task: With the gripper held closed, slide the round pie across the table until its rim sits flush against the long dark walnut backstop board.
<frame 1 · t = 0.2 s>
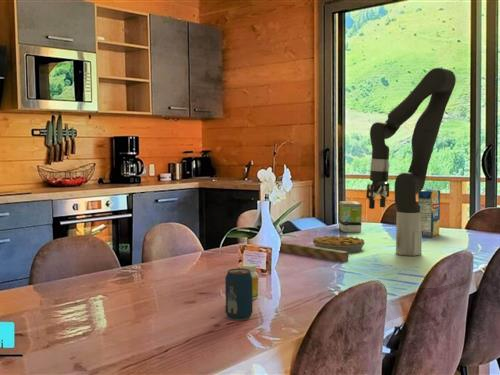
hand: (377, 207, 242), 18 cm above the table, tool pointing down, fingers open, 8 cm apart
walnut backstop board: (308, 255, 230), on the table
beverage box: (428, 235, 284), on the table
soda can: (238, 317, 146), on the table
supplement bottle: (248, 298, 165), on the table
pie: (338, 249, 245), on the table
tea box: (349, 230, 300), on the table
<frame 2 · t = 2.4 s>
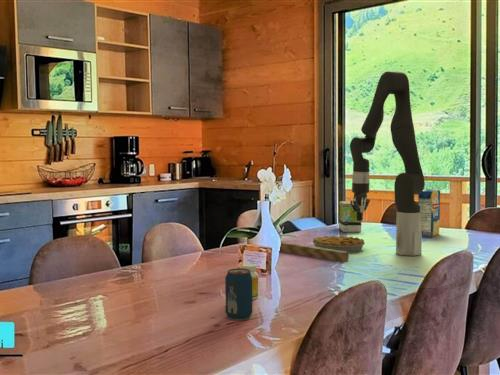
hand: (359, 220, 256), 11 cm above the table, tool pointing down, fingers closed
nothing on the table moved.
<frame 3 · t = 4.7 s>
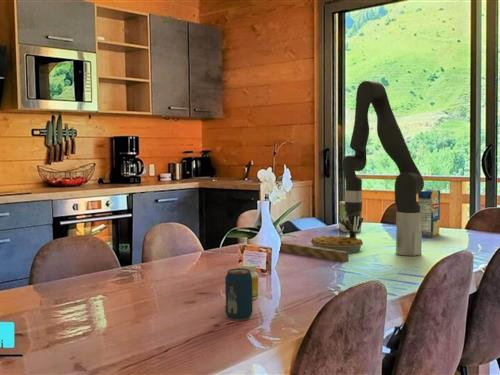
hand: (352, 239, 252), 3 cm above the table, tool pointing down, fingers closed
pie: (336, 249, 244), on the table, touching gripper
everything else where it was.
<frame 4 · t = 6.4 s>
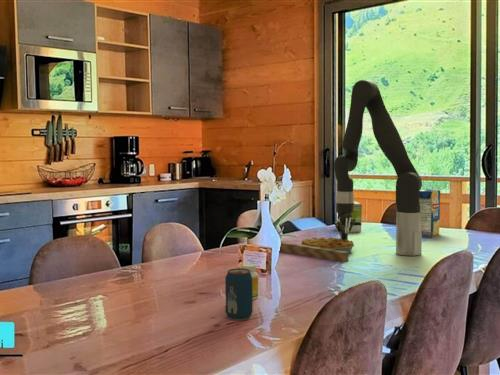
hand: (344, 241, 248), 3 cm above the table, tool pointing down, fingers closed
pie: (327, 251, 239), on the table, touching gripper, walnut backstop board
everything else where it was.
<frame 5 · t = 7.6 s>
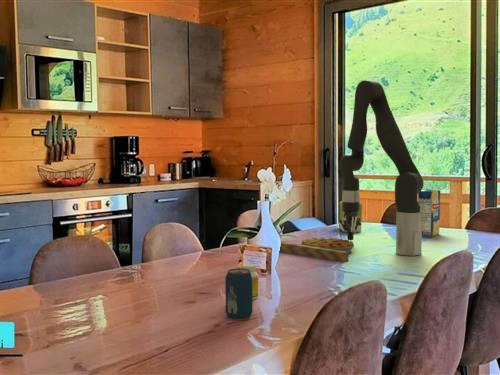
hand: (350, 240, 251), 3 cm above the table, tool pointing down, fingers closed
pie: (327, 252, 239), on the table
everything else where it was.
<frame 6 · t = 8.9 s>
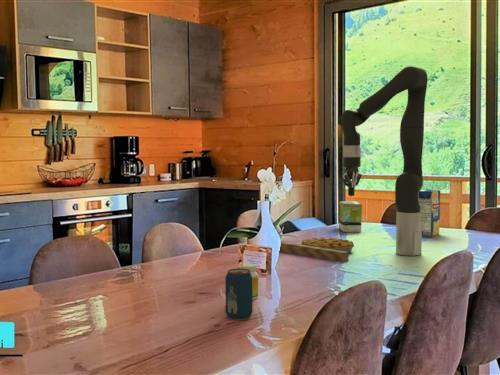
hand: (351, 195, 250), 22 cm above the table, tool pointing down, fingers closed
nothing on the table moved.
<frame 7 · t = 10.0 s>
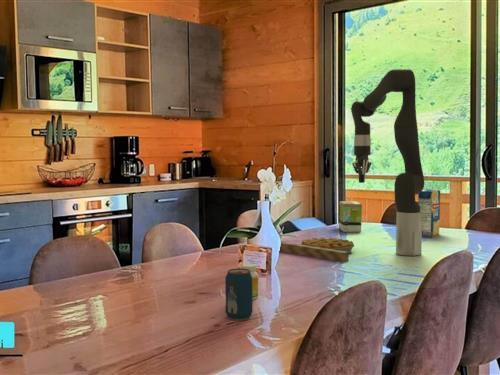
hand: (361, 182, 264), 27 cm above the table, tool pointing down, fingers closed
nothing on the table moved.
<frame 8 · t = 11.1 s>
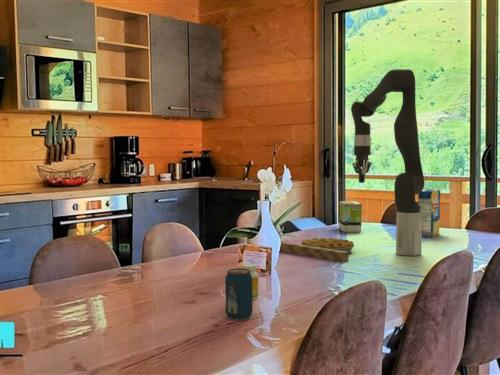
hand: (361, 182, 264), 27 cm above the table, tool pointing down, fingers closed
nothing on the table moved.
at the end: pie inside the target area on the table beside the walnut backstop board (0.2 cm from its centre), on the table; pie tilted 0°; pie moved 7.9 cm from its start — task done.
